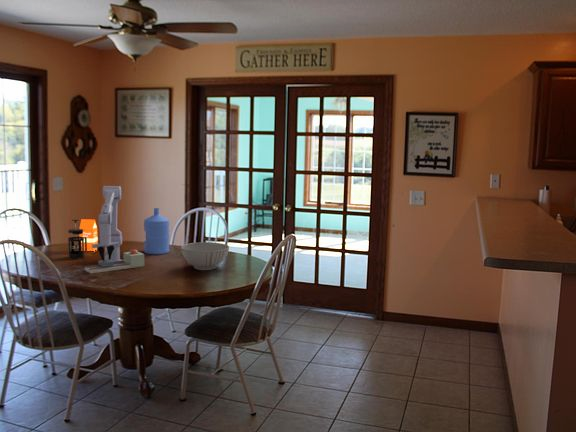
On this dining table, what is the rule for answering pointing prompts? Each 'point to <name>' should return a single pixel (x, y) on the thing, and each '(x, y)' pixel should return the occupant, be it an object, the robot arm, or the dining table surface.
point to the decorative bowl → (205, 254)
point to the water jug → (156, 234)
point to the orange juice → (89, 233)
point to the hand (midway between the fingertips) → (105, 259)
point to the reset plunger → (133, 251)
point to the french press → (73, 253)
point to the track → (120, 263)
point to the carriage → (106, 261)
